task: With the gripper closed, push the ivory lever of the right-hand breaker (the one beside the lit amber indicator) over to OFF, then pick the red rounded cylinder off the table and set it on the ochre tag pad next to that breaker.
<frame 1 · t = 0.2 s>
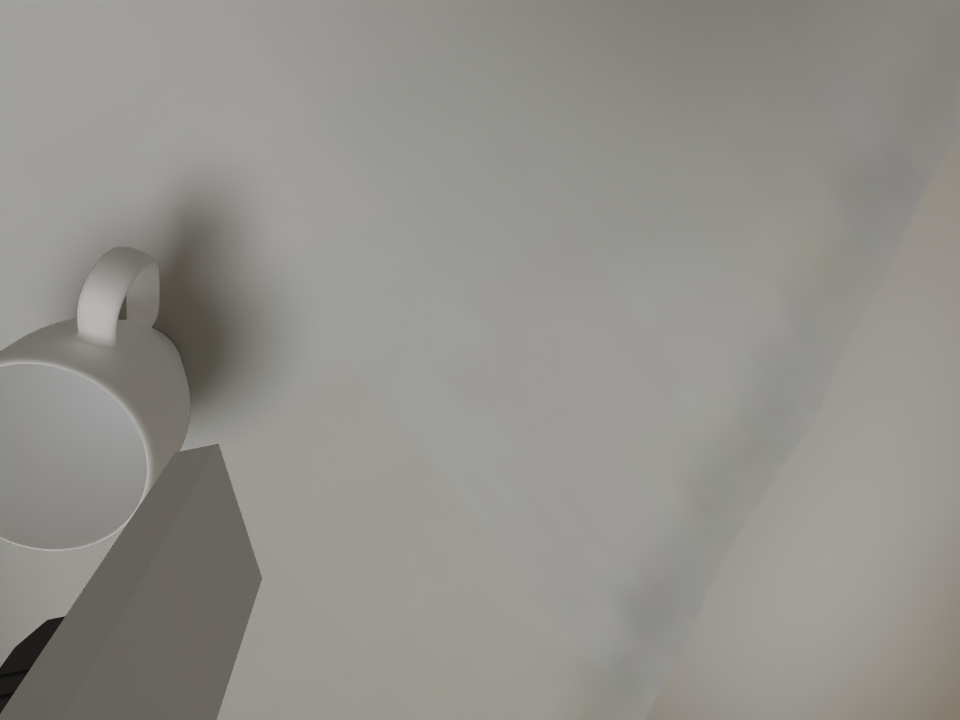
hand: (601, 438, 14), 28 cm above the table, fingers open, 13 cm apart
mug: (150, 330, 42), on the table
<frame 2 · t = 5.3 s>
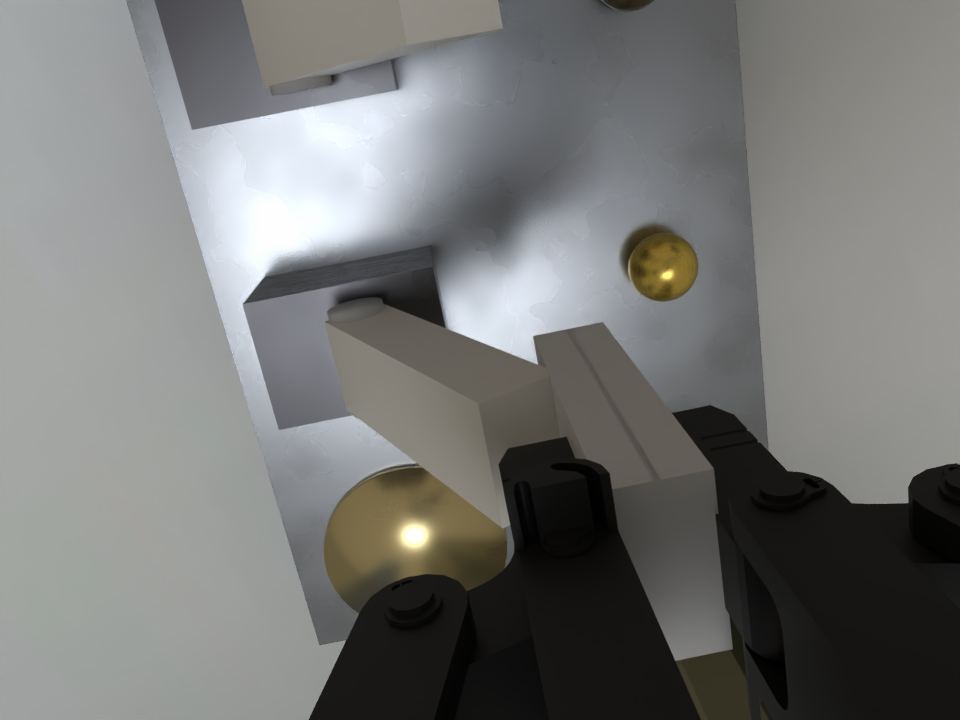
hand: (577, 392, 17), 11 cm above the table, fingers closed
panel: (481, 248, 26), on the table
breaker b: (426, 391, 18), point 9 cm above the table, hinge at -24.9°, touching gripper
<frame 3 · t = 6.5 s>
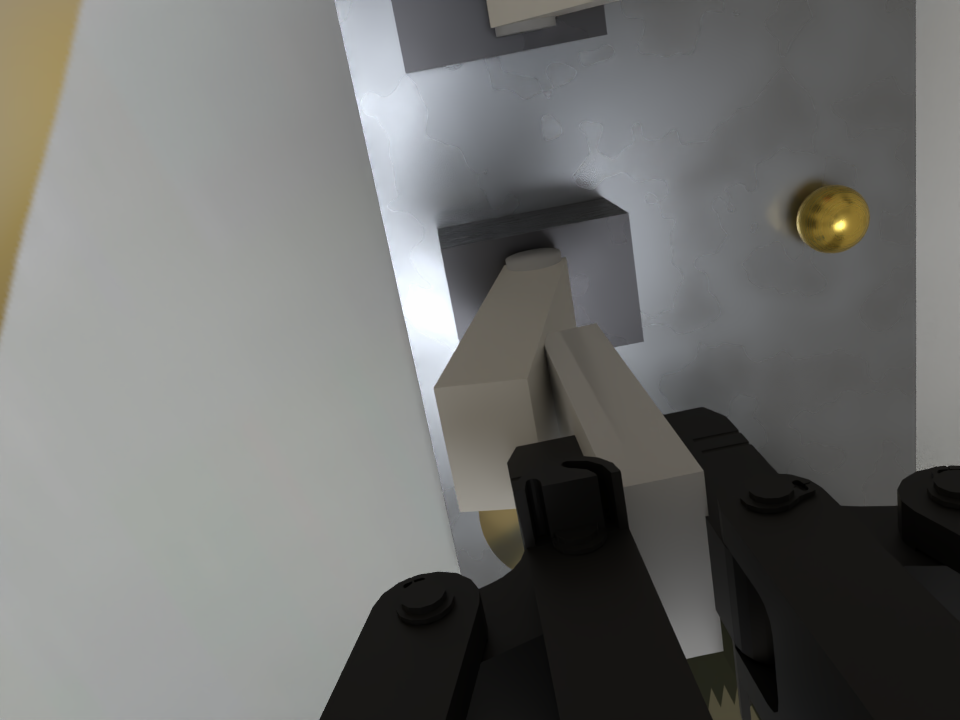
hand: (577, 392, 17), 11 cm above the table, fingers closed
panel: (638, 204, 26), on the table
breaker b: (523, 358, 18), point 9 cm above the table, hinge at 15.0°, touching gripper
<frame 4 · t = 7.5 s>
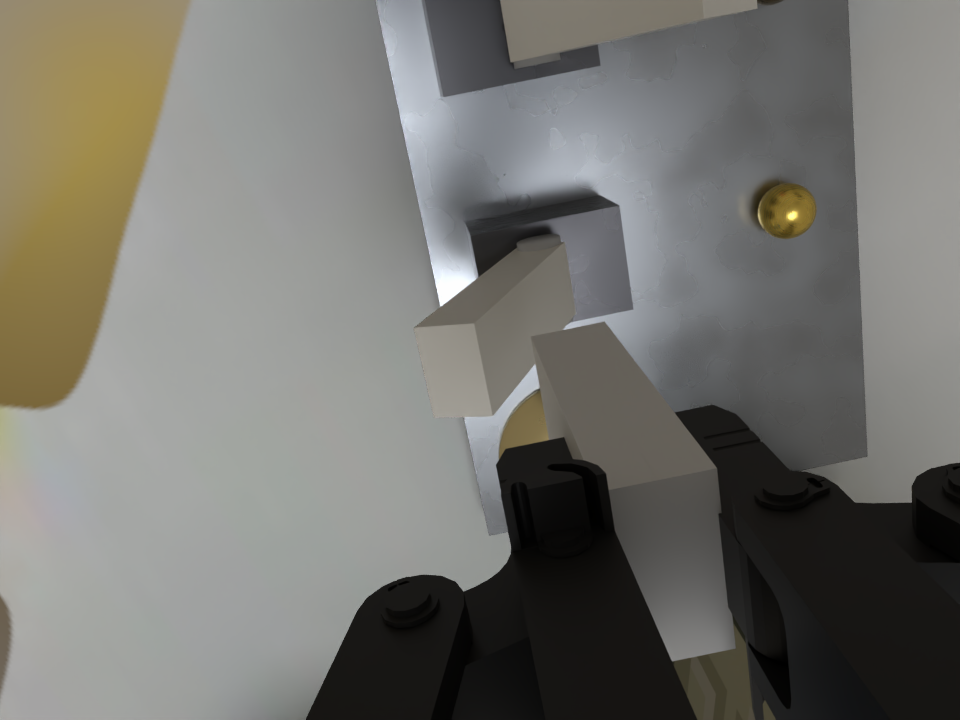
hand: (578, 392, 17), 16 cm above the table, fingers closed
panel: (629, 201, 32), on the table
breaker b: (509, 316, 24), point 9 cm above the table, hinge at 25.7°
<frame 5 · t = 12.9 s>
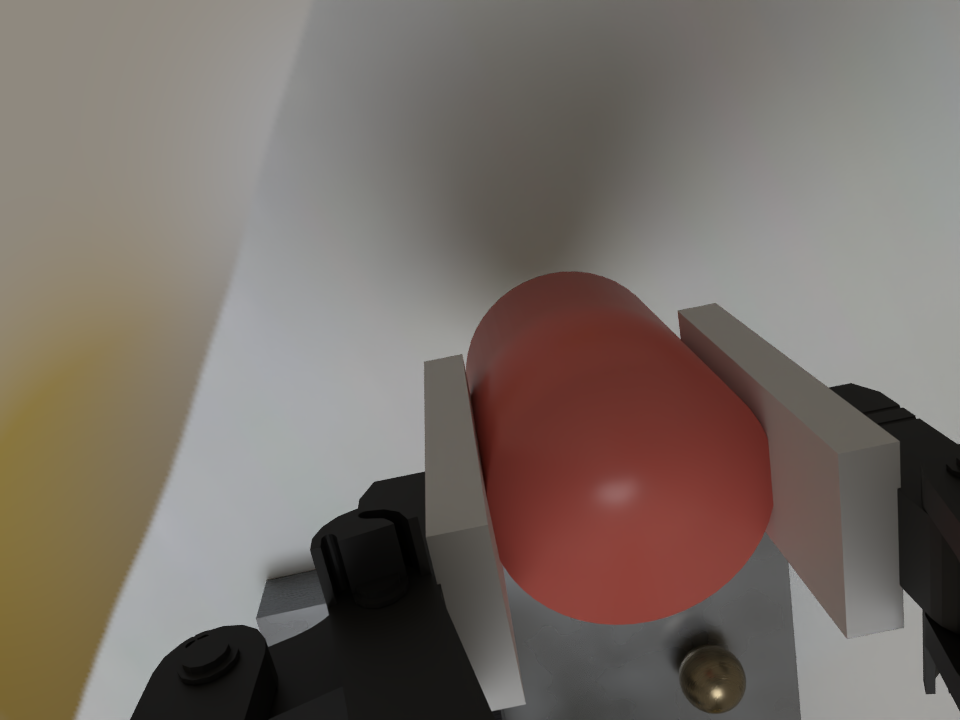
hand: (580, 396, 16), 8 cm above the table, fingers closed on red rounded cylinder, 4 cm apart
red rounded cylinder: (566, 369, 18), point 6 cm above the table, touching gripper
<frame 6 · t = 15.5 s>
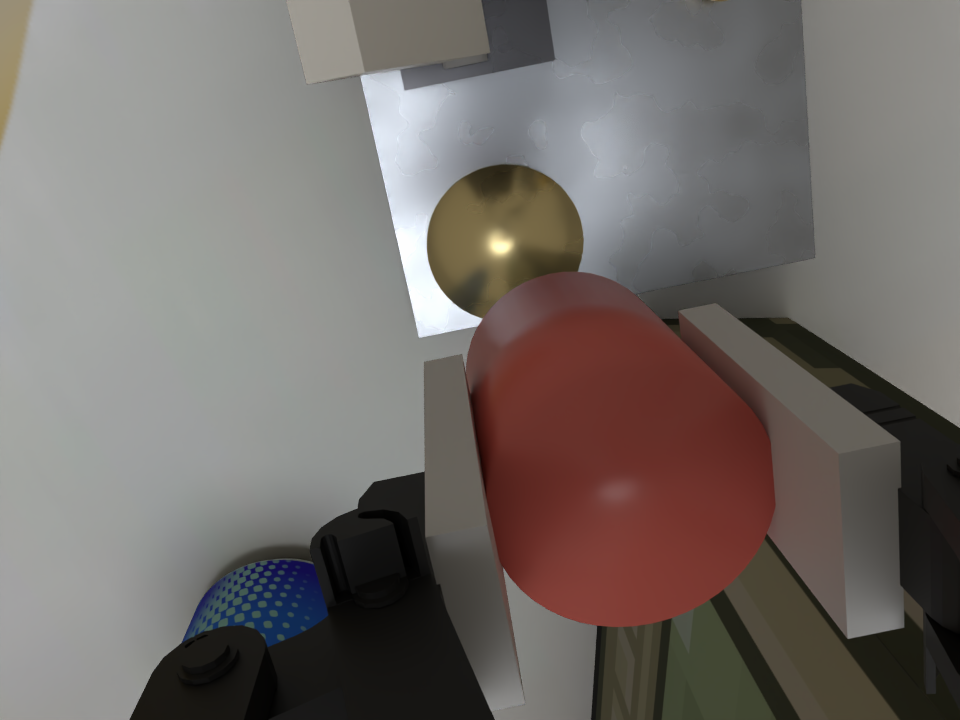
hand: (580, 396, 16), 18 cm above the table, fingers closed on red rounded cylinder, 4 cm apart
beer can: (290, 618, 39), on the table
control panel: (672, 612, 40), on the table
breaker b: (405, 19, 22), point 9 cm above the table, hinge at 25.8°
red rounded cylinder: (566, 370, 18), point 16 cm above the table, touching gripper
when the fingers open (3 cm above the table, at t = 18.5 s): red rounded cylinder stays where it is, resting on panel.
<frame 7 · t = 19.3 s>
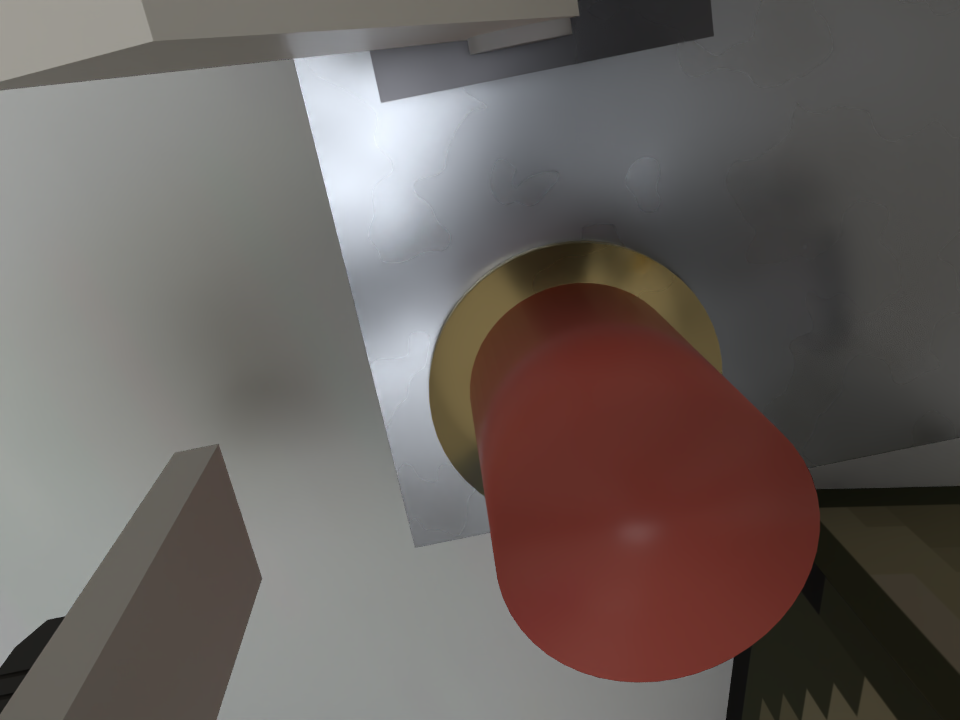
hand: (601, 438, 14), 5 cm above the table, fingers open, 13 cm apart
red rounded cylinder: (578, 388, 17), point 2 cm above the table, touching panel
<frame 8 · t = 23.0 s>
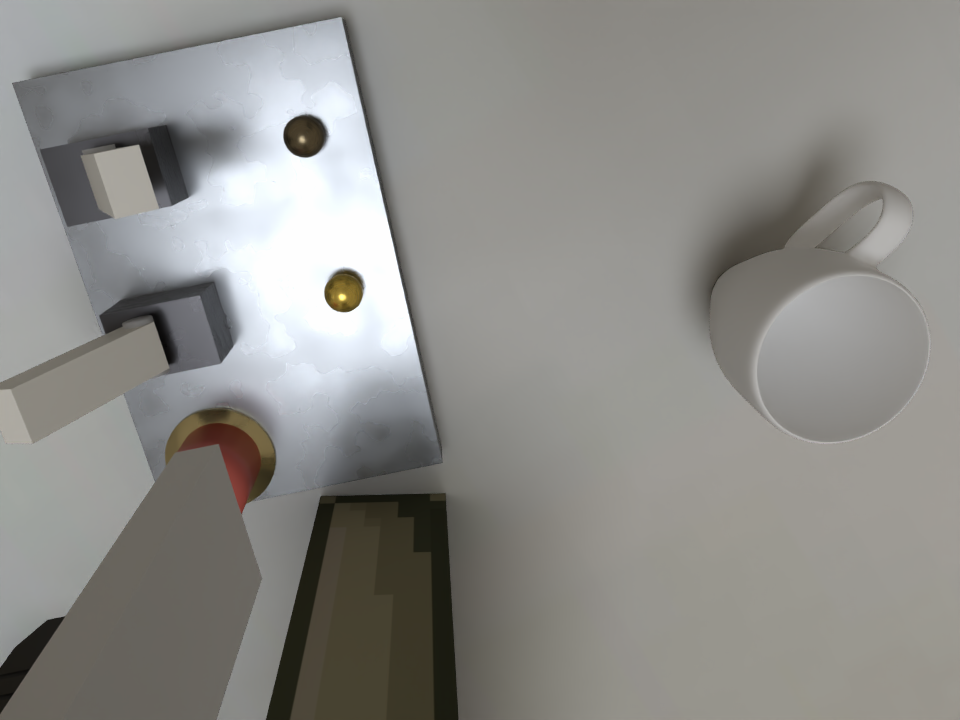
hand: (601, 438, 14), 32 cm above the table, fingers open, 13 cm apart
mug: (760, 267, 47), on the table
breaker a: (116, 179, 34), point 9 cm above the table, hinge at -25.0°
control panel: (389, 695, 55), on the table
panel: (254, 281, 45), on the table
breaker b: (89, 375, 37), point 9 cm above the table, hinge at 25.8°
red rounded cylinder: (220, 459, 46), point 2 cm above the table, touching panel
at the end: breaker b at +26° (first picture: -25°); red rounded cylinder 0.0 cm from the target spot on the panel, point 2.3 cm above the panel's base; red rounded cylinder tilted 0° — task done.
